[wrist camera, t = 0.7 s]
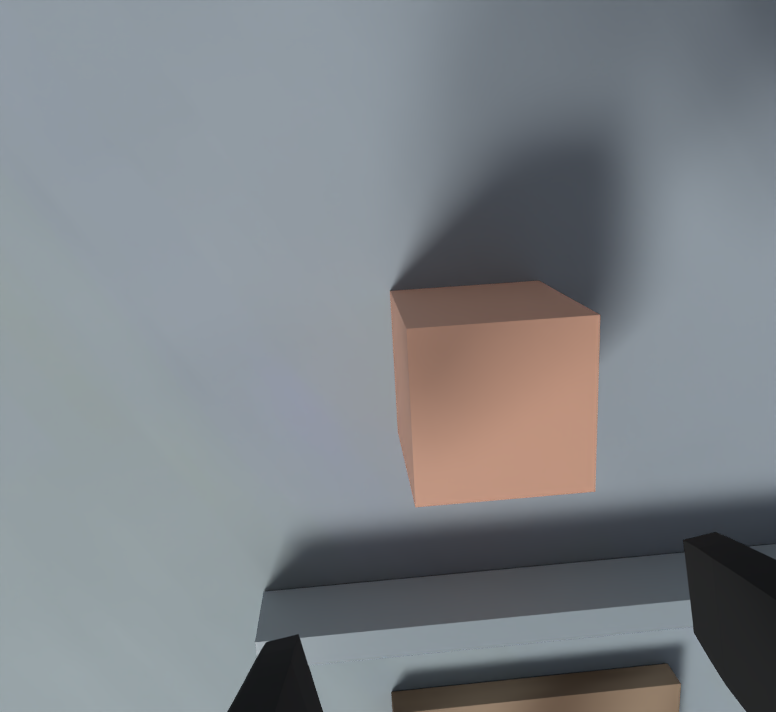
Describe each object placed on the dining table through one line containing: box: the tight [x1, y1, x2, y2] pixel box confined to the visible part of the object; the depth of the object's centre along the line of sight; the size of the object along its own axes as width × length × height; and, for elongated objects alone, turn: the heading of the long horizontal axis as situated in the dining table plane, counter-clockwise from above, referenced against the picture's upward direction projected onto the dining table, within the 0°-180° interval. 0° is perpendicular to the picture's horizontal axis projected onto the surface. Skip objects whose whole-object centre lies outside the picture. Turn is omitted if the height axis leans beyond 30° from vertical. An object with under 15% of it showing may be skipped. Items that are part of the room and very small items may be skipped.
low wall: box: [255, 544, 776, 666], centre depth 22 cm, size 20×1×2 cm, turn 93°
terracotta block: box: [390, 281, 600, 507], centre depth 19 cm, size 4×4×5 cm
